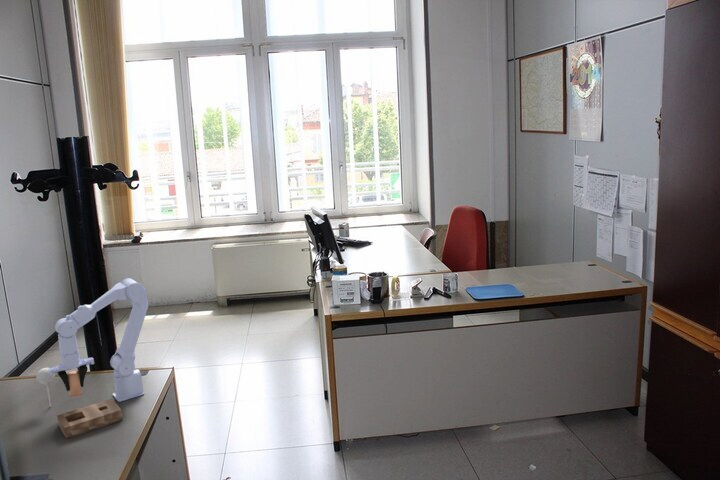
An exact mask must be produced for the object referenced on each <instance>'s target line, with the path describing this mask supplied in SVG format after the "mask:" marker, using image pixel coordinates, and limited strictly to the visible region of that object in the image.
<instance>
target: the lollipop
mask: <svg viewBox="0 0 720 480" xmlns="http://www.w3.org/2000/svg"><path fill="white" fill-rule="evenodd" d="M50 368H51V367H43V368H41V369H39V370H38V371H37V373H36V376H35V378H36V381H37V382H38V383H39V384H42V385H46V391H47V398H48V402H49V403H48V404H49V407H50V408H51V407H52V403H51V395H50V389H49V384H51V383H52V382H53V381H54V380H55V377H56V374H53V375H51V376H50V375H49V371H48V369H50Z"/></svg>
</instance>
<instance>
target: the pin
mask: <svg viewBox="0 0 720 480" xmlns="http://www.w3.org/2000/svg"><path fill="white" fill-rule="evenodd" d="M66 374H67V375H68V384H69V389H70V391H68V394H69V397H71V398H76V397H79V396H81V395H83V394H82V393H83V390H82V387H81V383H80V376H79V372H78V370H73V371H69V372H66Z"/></svg>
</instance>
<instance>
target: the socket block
mask: <svg viewBox="0 0 720 480" xmlns="http://www.w3.org/2000/svg"><path fill="white" fill-rule="evenodd" d="M56 419H57V424H58V427H59V430H61V432H62V434H63V436H64V437H65V439H66V440H68V439H71V438H74V437H77V436H80V435H82V434H85V433H89V432H92V431H95V430H97V429H102V428H104V427H107V426H110V425H114V424H115V423H116V424H117V423H120V422H122V421H123V420H124V418H123V411H122V408H121V407H120V406H119V405H118V403H116V401H115V400H114V399H113V398H109V399H106V400H102V401H100V402H95V403H93V404H90V405H87V406H83V407H80V408H76V409H74V410H70V411H67V412H63V413H60V414H57V416H56Z"/></svg>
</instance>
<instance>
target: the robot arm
mask: <svg viewBox="0 0 720 480" xmlns="http://www.w3.org/2000/svg"><path fill="white" fill-rule="evenodd" d="M147 296H148V295H147V290H146V288H145V287H144V286H143V285H142V283H139V282H137V281H135V280H134V279H133V278H130V277H129V278H128V277H127V278H124V279H122V280H121V281H120V282H117V283H116V284H115V285H114V286H113V287H111V288H110V289H109V290H108V291H106V292H105V293H104V294H103V295H101V296H100V297H98V298H97V299H96V300H95V301H93V302H92V303H91V304H83V305H79V306H77V309H76V310H75V311H73V312H71V313H70V314H67V315H65V317H63V318H60V319H58V320H57V321H56V323H55V325H54V330H55V332H56V333H58V334H57V336H58V337H57V339H58V346H59V347H58V348H59V352H60V353H59V354H60V358H61V364H57V365H55V366H53V367H49V368H50V369H48V371H49V375H50V376H51V375H53V374H55V375H56V374H57V375H58V376H59V378H60V379H61V380H62V383H63V384H64V387H65V390H66V391H67V392H69V391H70V389H69V384H68V375H67V371H70V370H74V369H76V370H77V371H78V372H79V376H80V383H81V388H84V383H85V377H86V375H87V372H88V366H89V365H94V364H95V360H94V359H95V358H93V357H88V358H83V359H82V358H80V352H79V346H78V338H77V335H76V334H77V332H78V330H79V329H81V328H82V327H83V326H85V325H86V324H88V323H89V322H90V321H92V320H93V319H94V318H95V317H96V314H97V312H99V311H100V310H102V309H103V308H106V307H107V306H108V305H110V304H112V303H113V302H115V301H116V300H118V301H119V300H121V301H124V300H126V301H127V299H128V301H129V302H130V304H131V305H132V307H131V308H132V309H131V311H130V314H129V317H128V320H127V323H126V327H125V329H124V330H125V331H124V332H123V335H122V339H121V342H120V345H119V347H117V349H116V350H115V353H114V354H113V355H112V356H111V358H110V361H109V363H110V367H111V368H112V369H113V374H112V376H113V377H112V378H113V384H114V390H115V391H114V392H113V393H112V396H113V397H114V398H115V400H117V402H119V403H120V402H124V401H127V400H131V399H133V398H137V397H139V396H144V395H145V391H144V386H143V385H144V384H143V377H142V374H141V371H140V369H139V368H138V369H135V368H136V365H135V359H136V353H135V350H136V347H137V343H138V341H139V338H140V337H139V336H140V334H141V331H142V327H143V324H144V321H145V318H146V315H147V312H148V310H149V309H148V308H149V300H148V297H147Z"/></svg>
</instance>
